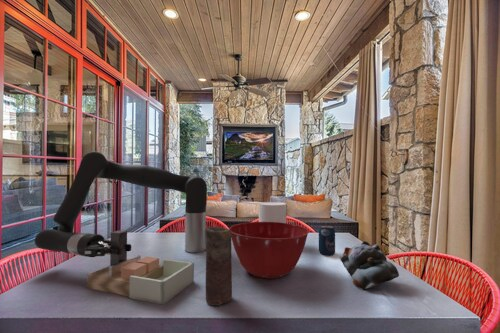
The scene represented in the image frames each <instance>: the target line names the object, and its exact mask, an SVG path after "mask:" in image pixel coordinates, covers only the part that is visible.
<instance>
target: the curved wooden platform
mask: <svg viewBox="0 0 500 333" xmlns="http://www.w3.org/2000/svg"><path fill="white" fill-rule="evenodd" d="M109 267H110V265H108V266H106V267H103V268H101V269H99V270H95V271H93V272H92V273H89V274H87V277H86V278H87V281H86V282H87V285H86V288H87V289H91V290H94V291H95V290H96V291H101V292H106V293H111V294H116V295H120V296H121V295H122V296H127V297H129V296H130V279H124V278H121V273H120V274H118V275H115V276H113V277H109ZM161 276H163V265H161V264H159V268H157V269H155V270H153V271H151V272H149V273H147V272H146V274H145V275H143V276H141V277H144V278H150V279H158V278H160V277H161Z"/></svg>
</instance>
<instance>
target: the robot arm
mask: <svg viewBox="0 0 500 333" xmlns="http://www.w3.org/2000/svg"><path fill="white" fill-rule="evenodd" d="M97 178H98V179H105V180H106V179H107V180H108V179H109V180H115V181H120V182H125V183H128V184H131V185H136V186H140V187H144V188H149V189H155V190H171V191H176V192H180V193H184V194H185V207H184V209H185V213H184V214H185V218H184V219H185V222H184V223H185V224H184V227H185V228H184V232H185V234H184V243H185V244H184V251H185V252H187V253H201V252H205V251H206V228H207V204H208V185H207V182H206V181H205V180H204V179H203V178H202V177H200V176H190V175H183V174H176V173H174V172H170V171H167V170H165V169H163V168H159V167H155V166H150V165H145V164H126V163H125V164H123V163H118V162H115V161H111V160H108V159H107V157H106V156H105V155H104V154H103V153H102V152H99V151H95V150H93V151H89V152H87V153H85V154H84V155H83V157H82V158H81V159H80V164H79V166H78V168H77V171H76V174H75V176H74V179H73V181H72V182H71V183H72V184H71V186H70V187H69V190H68V191H67V193H66V195H65V197H64V199H63V201H62V202H61V203H60V205H59V206H58V209H57V210H56V213H55V214H54V216H53V222H55V223H56V224H57V225H58V226H59V230H58V229H54V228H45V229H43V230H41V231H39V232H38V233H37V234H36V235H35V237H34V244H35V246H36V248H38V249H41V250H46V251H51V252H55V253H58V252H62V253H66V254H73V255H75V256H81V257H87V258H96V257H105V255H107V256H109V255H110V254H115V255H121V254H122V248H121V247H111V239H110V238H109V239H107V238H106V239H105V237H104V235H102V234H98V233H88V232H74V227H75V223H76V220H77V219H78V217H79V215H80V214H81V212H82V209H83V207H84V205H85V202H86V200H87V196H88V193H89V191H90V188H91V186H92V184H93V183H94V181H95V179H97ZM131 251H132V244H131V243H127V252H131Z"/></svg>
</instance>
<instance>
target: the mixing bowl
mask: <svg viewBox="0 0 500 333" xmlns="http://www.w3.org/2000/svg"><path fill="white" fill-rule="evenodd" d="M228 229H229V230H231V243H232V245H233V248H234V251H235V254H236V256H237V258H238V260H239V262H240V264H241V266H242V267H243V269H244V270H245V271H247V272H248V273H249V274H250V275H251V276H254V277H256V278H260V279H278V278H282V277H284V276H286V275H287V274H289V273H291V272H292V271H293V270H294V269H295V267H296V266H297V264H298V262H299V261H300V258H301V256H302V254H303V252H304V249H305V245H306V243H307V238H308V235H309V233H310V230H309V229H308V228H306V227H305V226H302V225H298V224H295V223H294V224H293V223H288V222H286V223H280V222H259V221H251V222H250V221H249V222H242V223H238V224H234V225H231V226H230V227H229V228H228Z"/></svg>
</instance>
